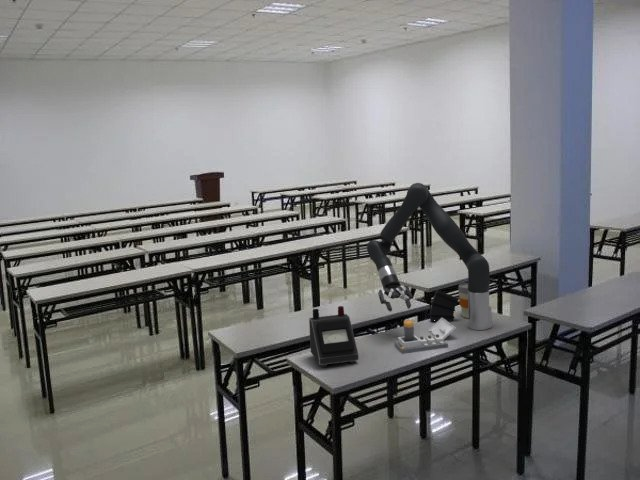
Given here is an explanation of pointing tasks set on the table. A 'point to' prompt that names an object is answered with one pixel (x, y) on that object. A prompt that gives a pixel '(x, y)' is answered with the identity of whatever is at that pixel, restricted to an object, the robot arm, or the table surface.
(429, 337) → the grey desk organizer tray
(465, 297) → the reusable coffee cup
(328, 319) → the voltmeter
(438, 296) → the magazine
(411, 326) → the lockout plug
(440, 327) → the light switch
